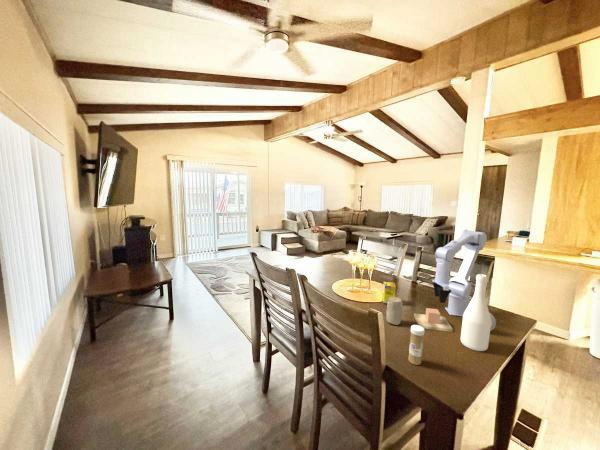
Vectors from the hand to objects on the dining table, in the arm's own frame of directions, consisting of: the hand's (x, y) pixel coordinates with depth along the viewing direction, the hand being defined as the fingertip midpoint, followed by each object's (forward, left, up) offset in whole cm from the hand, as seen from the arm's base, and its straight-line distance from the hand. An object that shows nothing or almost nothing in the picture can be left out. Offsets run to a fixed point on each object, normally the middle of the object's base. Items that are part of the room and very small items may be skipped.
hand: (439, 299), depth 127 cm
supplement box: (+22, -14, -11) cm, 28 cm away
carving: (+22, +9, -11) cm, 26 cm away
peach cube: (+4, +5, -9) cm, 11 cm away
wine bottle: (-8, +20, -11) cm, 24 cm away
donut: (-16, +7, -11) cm, 21 cm away
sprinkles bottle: (+18, +37, -11) cm, 42 cm away
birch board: (+4, +5, -10) cm, 12 cm away
